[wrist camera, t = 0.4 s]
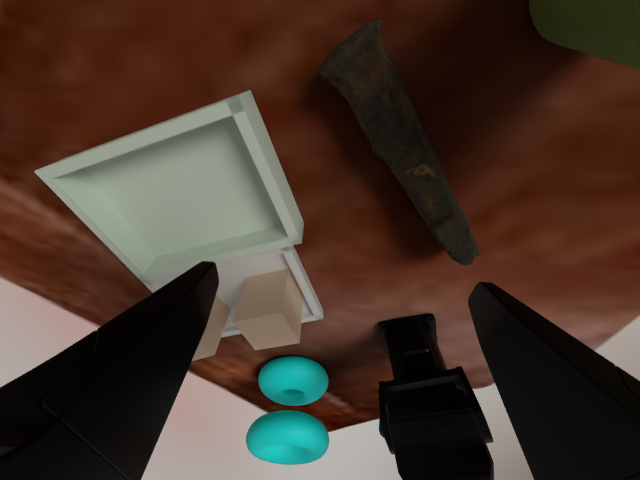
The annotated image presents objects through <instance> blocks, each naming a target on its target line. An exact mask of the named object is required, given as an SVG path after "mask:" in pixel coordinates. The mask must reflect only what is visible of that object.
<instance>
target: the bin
mask: <svg viewBox="0 0 640 480" xmlns="http://www.w3.org/2000/svg"><path fill="white" fill-rule="evenodd" d="M34 172H35V173H36V174H37V175H38V176H39V177H40V178H41V179H42V180H43V181H44V182H45V183H46V184H47V185H48V186H49V187H50V188H51V189H52V190H53V191H54V192H55V193H56V195H57V196H58V197H59V198H60V199H61V200H62V201H63V202H64V203H65V204H66V205H67V206H68V207H69V208H70V209H71V210H72V211H73V212H74V213H75V214H76V215H77V216H78V217H79V218H80V219H81V220H82V221H83V222H84V223H85V224H86V225H87V226H88V227H89V228H90V229H91V230H92V231H93V232H94V233H95V234H96V236H97V237H98V238H99V239H100V240H101V241H102V242H103V243H104V244H105V245H106V246H107V247H108V248H109V249H110V250H111V251H112V252H113V253H114V254H115V255H116V256H117V257H118V258H119V259H120V260H121V261H122V262H123V263H124V264H125V265H126V266H127V267H128V268H129V269H130V270H131V271H132V272H133V273H134V274H135V275H136V276H137V278H138V279H139V280H140V281H141V282H142V281H146V280H151V279H155V278H159V277H163V276H167V275H171V274H176V273H180V272H184V271H187V270H189V269H190V268H192V267H193V266H195V265H196V264H198V263H200V262H201V261H213V262H215V263H216V264H217V263H221V262H226V261H230V260H234V259H238V258H242V257H247V256H251V255H255V254H259V253H263V252H267V251H272V250H276V249H280V248H284V247H288V246H292V245H297V244H301V243H302V237H303V228H304V222H303V219H302V217H301V214H300V212H299V209H298V207H297V204H296V202H295V200H294V197H293V195H292V192H291V190H290V187H289V185H288V182H287V180H286V177H285V175H284V172H283V170H282V167H281V165H280V162H279V160H278V157H277V155H276V152H275V150H274V147H273V145H272V142H271V140H270V137H269V135H268V132H267V130H266V127H265V125H264V122H263V120H262V118H261V115H260V113H259V110H258V108H257V105H256V103H255V100H254V98H253V95H252V93H251V90H248V91H246V92H243V93H240V94H237V95H235V96H232V97H229V98H227V99H224V100H221V101H218V102H216V103H213V104H210V105H208V106H205V107H202V108H199V109H197V110H194V111H191V112H189V113H186V114H183V115H180V116H178V117H175V118H172V119H169V120H167V121H164V122H161V123H159V124H156V125H153V126H150V127H148V128H145V129H142V130H140V131H137V132H134V133H131V134H129V135H126V136H123V137H121V138H118V139H115V140H112V141H110V142H107V143H104V144H102V145H99V146H96V147H93V148H91V149H88V150H85V151H83V152H80V153H77V154H74V155H72V156H69V157H66V158H64V159H62V160H59V161H57V162H55V163H52V164H50V165H47V166H45V167H43V168H40V169H38V170H35V171H34Z"/></svg>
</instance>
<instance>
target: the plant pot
mask: <svg viewBox="0 0 640 480" xmlns="http://www.w3.org/2000/svg"><path fill="white" fill-rule="evenodd" d="M529 11H530V15H531V18H532V21H533V24H534V26H535V28H536V29H537V31H538V32H539V33H540V35H541V36H542V37H544V38H545V39H546V40H548V41H550V42H552V43H554V44H557V45H559V46H562V47H566V48H569V49H573V50H576V51H580V52H583V53H586V54H590V55H593V56H596V57H599V58H603V59H606V60H609V61H612V62H616V63H619V64H622V65H625V66H629V67H632V68H635V69H639V70H640V0H529Z"/></svg>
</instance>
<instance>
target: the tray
mask: <svg viewBox="0 0 640 480" xmlns="http://www.w3.org/2000/svg"><path fill="white" fill-rule="evenodd" d="M216 266H217V271H218V277H219V286H218V290H217V293H216V296H217V297H218V298H219V299H220V300H221V301H223V302H224V303H225V304H226V305H227V306H228V307H229V308H230V309H231V311H230V314H229V317H228V319H227V322H226V325H225V328H224V331H223V333H222V336H221V337H226V336H232V335H237V334H242V333H241V332H240V330H239V329H238V328H237V327H236V325H235V324H234V323H233V320H234V317H235V314H236V311H237V308H238V305H239V302H240V299H241V296H242V293H243V290H244V287H245V284H246V282H247V279H248V277H251V276H255V275H260V274H264V273H269V272H273V271H278V270H282V269H287V268H289V269H290V271H291V273H292V275H293V277H294V279H295V281H296V283H297V285H298V287H299V289H300V291H301V293H302V295H303V297H304V299H303V310H302V322H301V323H303V322H309V321H315V320H320V319H323V309H322V307H321V305H320V303H319V300H318V298H317V296H316V294H315V292H314V289H313V287H312V285H311V283H310V281H309V278H308V276H307V274H306V272H305V270H304V268H303V265H302V263H301V261H300V259H299V257H298V254H297V252H296V250H295V248H294V246H293V245H292V246H288V247H284V248H280V249H276V250H272V251H267V252H263V253H259V254H255V255H251V256H247V257H242V258H238V259H234V260H230V261H226V262H221V263H217V264H216ZM184 272H186V271H184ZM184 272H180V273H176V274H171V275H167V276H163V277H159V278H155V279H151V280H146V281H142V282H143V283H144V285H145V286H146V287H147V288H148V289H149V290H150V291H151V292H152V293H153V292H155V291H157V290H158V289H160V288H161V287H163V286H164V285H166V284H167V283H169V282H170V281H172V280H173V279H175V278H176V277H178V276H180V275H181V274H183V273H184Z"/></svg>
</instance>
